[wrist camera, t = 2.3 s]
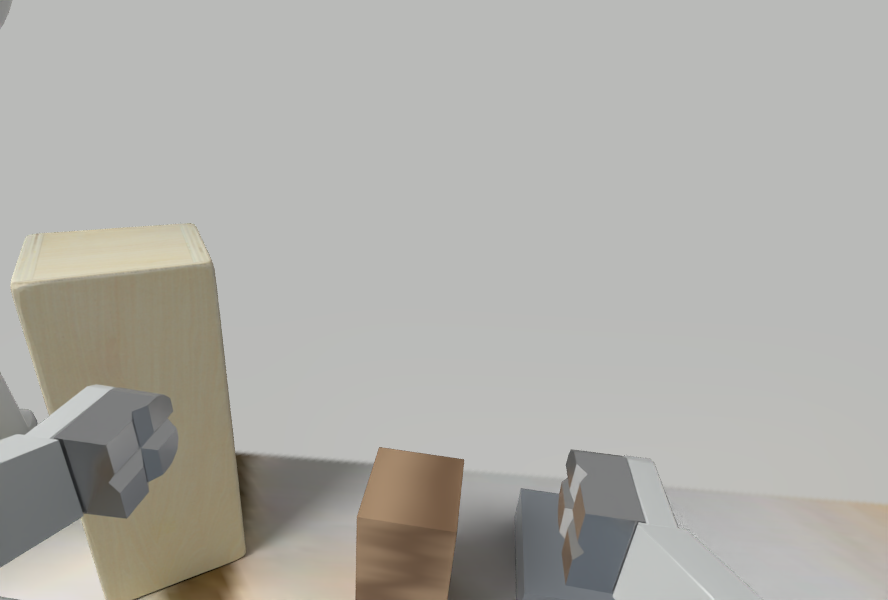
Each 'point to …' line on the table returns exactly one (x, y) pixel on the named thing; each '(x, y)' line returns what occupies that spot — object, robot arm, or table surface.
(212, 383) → the tall pale wood block
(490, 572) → the table surface
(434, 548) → the walnut brick
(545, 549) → the base brick
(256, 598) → the table surface
